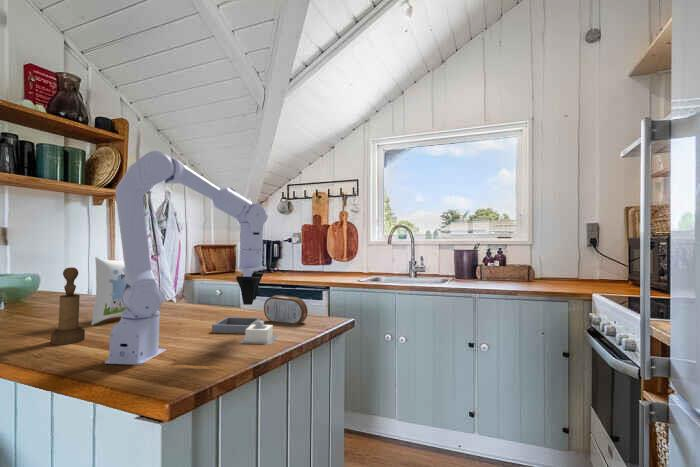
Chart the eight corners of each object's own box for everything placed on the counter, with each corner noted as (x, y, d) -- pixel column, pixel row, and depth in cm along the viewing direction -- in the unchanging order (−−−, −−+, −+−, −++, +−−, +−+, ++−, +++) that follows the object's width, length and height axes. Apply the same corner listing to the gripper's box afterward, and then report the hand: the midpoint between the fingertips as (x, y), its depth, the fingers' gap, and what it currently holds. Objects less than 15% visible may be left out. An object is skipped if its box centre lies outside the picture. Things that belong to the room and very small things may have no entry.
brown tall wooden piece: (65, 345, 85) (68, 268, 86) (43, 343, 87) (46, 267, 87) (91, 338, 92) (93, 267, 92) (69, 336, 93) (72, 266, 93)
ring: (267, 342, 90) (267, 330, 90) (245, 341, 90) (245, 329, 90) (272, 336, 95) (272, 325, 95) (251, 336, 95) (252, 324, 95)
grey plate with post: (271, 346, 88) (271, 325, 88) (238, 345, 88) (238, 324, 89) (278, 337, 96) (278, 318, 96) (248, 336, 96) (248, 317, 97)
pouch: (81, 324, 107) (84, 256, 108) (141, 313, 125) (143, 254, 125) (99, 327, 104) (101, 256, 104) (158, 315, 121) (160, 255, 122)
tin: (307, 325, 112) (308, 297, 112) (302, 327, 109) (303, 299, 109) (267, 319, 118) (268, 293, 119) (261, 321, 115) (262, 295, 116)
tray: (250, 335, 98) (251, 326, 98) (211, 334, 98) (212, 324, 98) (261, 326, 108) (261, 317, 108) (226, 325, 109) (226, 317, 109)
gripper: (264, 250, 89) (263, 306, 88) (268, 249, 103) (267, 297, 103) (234, 250, 88) (232, 307, 87) (243, 249, 102) (241, 297, 102)
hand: (249, 302), depth 95 cm, fingers open, 7 cm apart
